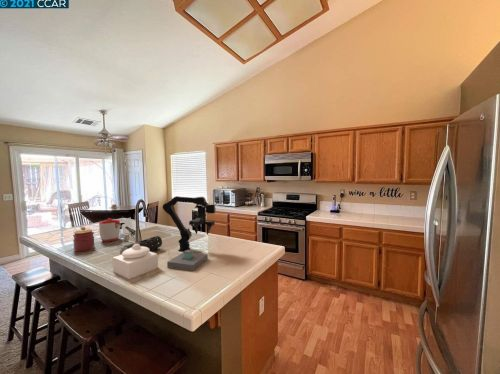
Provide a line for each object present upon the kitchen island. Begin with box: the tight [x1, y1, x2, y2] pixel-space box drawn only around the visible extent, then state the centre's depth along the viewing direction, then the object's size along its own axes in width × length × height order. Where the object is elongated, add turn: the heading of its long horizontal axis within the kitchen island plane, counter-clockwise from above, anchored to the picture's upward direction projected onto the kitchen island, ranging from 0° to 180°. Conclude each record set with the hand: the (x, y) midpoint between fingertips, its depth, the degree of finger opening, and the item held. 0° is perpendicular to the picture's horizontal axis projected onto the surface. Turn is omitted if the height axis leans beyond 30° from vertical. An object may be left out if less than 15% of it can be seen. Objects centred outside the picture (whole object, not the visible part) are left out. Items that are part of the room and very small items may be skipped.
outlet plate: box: [166, 251, 209, 272], centre depth 140 cm, size 18×18×4 cm
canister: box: [72, 226, 95, 253], centre depth 169 cm, size 13×13×18 cm
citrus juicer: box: [98, 217, 122, 243], centre depth 192 cm, size 16×17×20 cm
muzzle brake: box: [119, 235, 163, 255], centre depth 157 cm, size 10×28×10 cm, turn 155°
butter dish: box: [112, 244, 159, 280], centre depth 131 cm, size 18×18×16 cm
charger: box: [183, 249, 194, 260], centre depth 140 cm, size 4×4×8 cm
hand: (202, 234), depth 164 cm, fingers open, 9 cm apart
